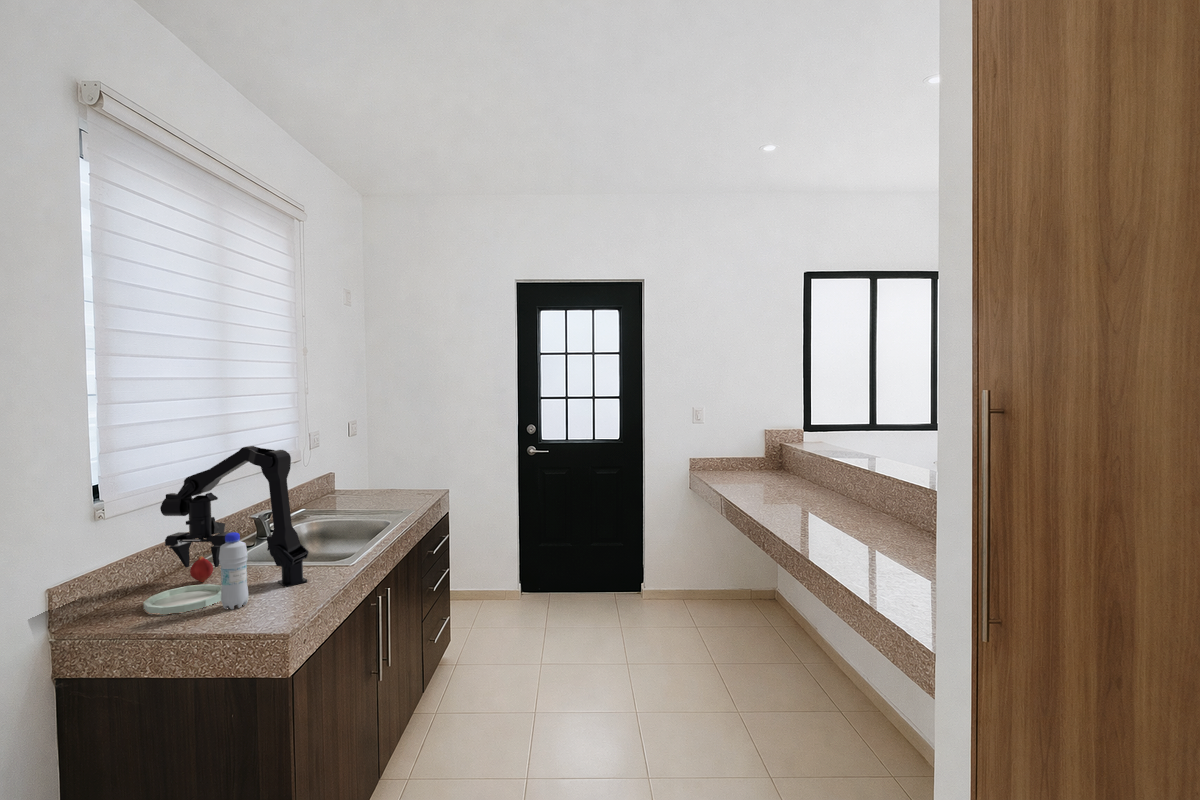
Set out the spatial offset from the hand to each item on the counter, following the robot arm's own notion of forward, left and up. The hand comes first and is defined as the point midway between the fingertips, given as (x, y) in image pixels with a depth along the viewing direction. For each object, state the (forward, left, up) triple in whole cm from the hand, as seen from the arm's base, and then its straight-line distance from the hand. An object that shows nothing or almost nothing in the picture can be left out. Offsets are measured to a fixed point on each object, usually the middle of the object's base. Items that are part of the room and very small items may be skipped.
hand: (201, 567), depth 185 cm
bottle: (-31, 0, -5) cm, 31 cm away
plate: (-17, +8, -5) cm, 19 cm away
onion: (0, 0, -5) cm, 5 cm away
